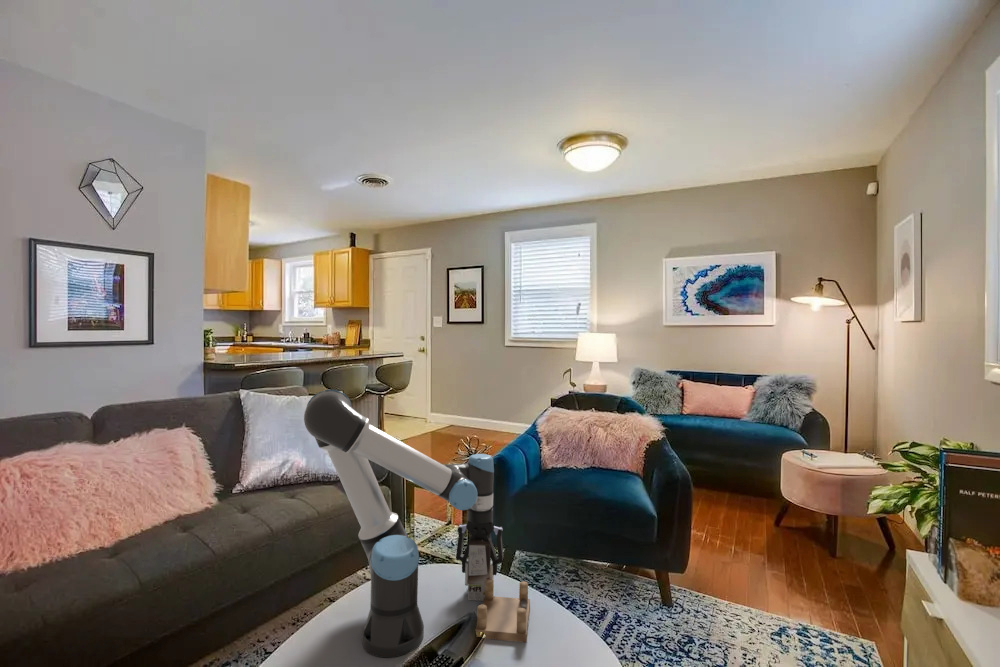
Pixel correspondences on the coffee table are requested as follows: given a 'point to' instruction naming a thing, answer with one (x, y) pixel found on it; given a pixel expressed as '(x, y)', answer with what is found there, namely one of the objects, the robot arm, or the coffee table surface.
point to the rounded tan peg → (523, 592)
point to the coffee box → (478, 568)
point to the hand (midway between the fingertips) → (479, 584)
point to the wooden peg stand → (502, 616)
